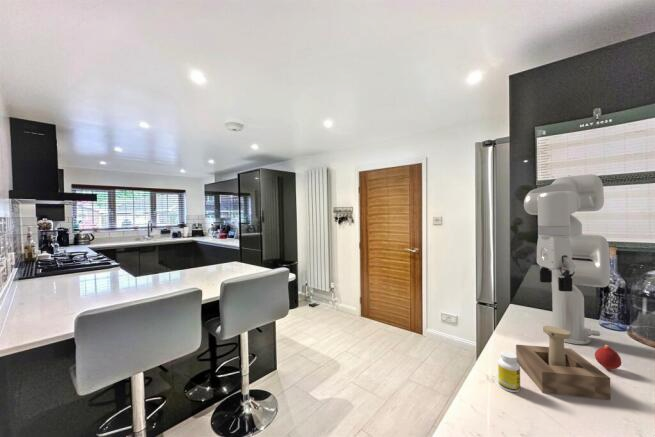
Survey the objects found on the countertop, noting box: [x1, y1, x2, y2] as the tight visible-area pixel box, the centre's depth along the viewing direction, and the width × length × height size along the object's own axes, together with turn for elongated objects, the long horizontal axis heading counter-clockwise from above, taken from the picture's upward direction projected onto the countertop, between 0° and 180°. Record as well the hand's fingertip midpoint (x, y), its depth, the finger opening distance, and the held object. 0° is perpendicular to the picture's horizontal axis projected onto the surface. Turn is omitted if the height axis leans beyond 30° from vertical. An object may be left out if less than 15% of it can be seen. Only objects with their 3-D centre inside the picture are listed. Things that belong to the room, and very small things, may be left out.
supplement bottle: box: [497, 350, 521, 393], centre depth 78 cm, size 5×5×10 cm
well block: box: [515, 344, 612, 401], centre depth 81 cm, size 16×16×6 cm
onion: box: [594, 344, 622, 371], centre depth 85 cm, size 6×6×8 cm
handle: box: [542, 325, 570, 367], centre depth 82 cm, size 5×6×15 cm
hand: (555, 286), depth 82 cm, fingers open, 9 cm apart
